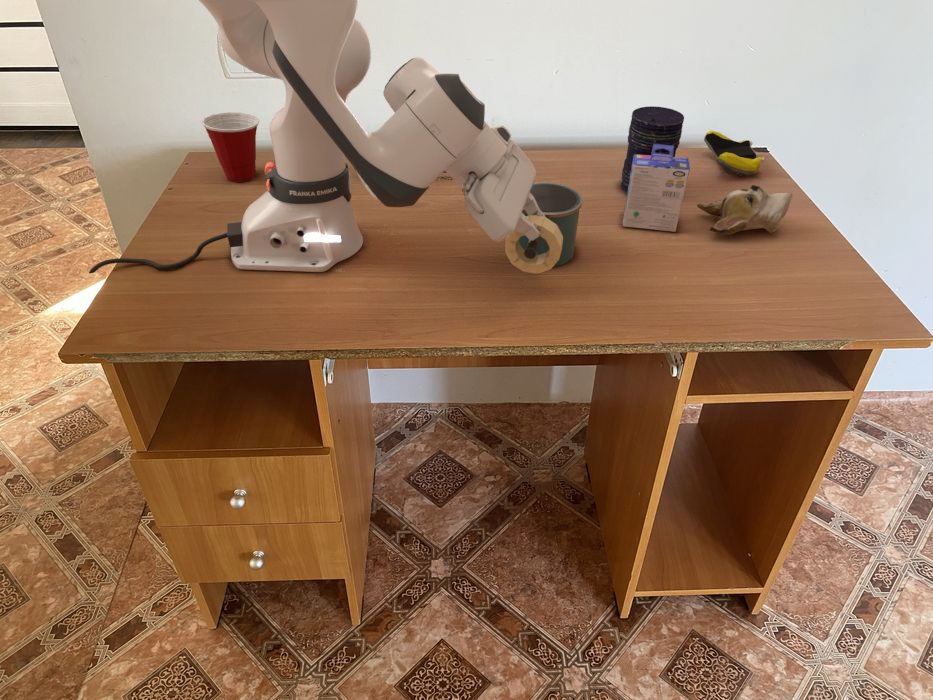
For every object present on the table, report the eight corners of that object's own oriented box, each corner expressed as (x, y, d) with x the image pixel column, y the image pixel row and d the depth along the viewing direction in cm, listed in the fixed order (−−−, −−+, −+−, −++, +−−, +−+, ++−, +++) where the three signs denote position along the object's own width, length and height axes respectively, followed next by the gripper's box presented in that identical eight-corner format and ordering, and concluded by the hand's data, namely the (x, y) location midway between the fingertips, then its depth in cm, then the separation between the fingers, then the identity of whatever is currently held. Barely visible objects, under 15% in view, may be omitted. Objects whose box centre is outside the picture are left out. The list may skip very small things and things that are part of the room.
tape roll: (504, 269, 107) (506, 221, 102) (507, 259, 109) (510, 212, 104) (557, 276, 106) (562, 228, 100) (560, 266, 108) (565, 218, 103)
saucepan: (515, 230, 125) (518, 178, 118) (579, 238, 123) (586, 186, 116) (490, 296, 108) (492, 240, 102) (563, 306, 106) (570, 250, 100)
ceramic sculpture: (805, 198, 116) (715, 200, 117) (793, 243, 121) (706, 245, 122) (785, 171, 124) (701, 174, 125) (774, 215, 130) (693, 217, 131)
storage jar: (629, 174, 144) (642, 102, 134) (675, 185, 140) (691, 112, 130) (612, 192, 137) (623, 118, 127) (660, 204, 133) (675, 129, 124)
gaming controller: (715, 181, 141) (764, 182, 141) (722, 156, 138) (772, 156, 138) (698, 152, 153) (742, 152, 153) (703, 128, 149) (749, 128, 149)
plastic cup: (278, 177, 141) (268, 120, 133) (229, 192, 135) (215, 133, 128) (254, 161, 147) (243, 105, 140) (206, 174, 142) (192, 117, 134)
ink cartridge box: (676, 219, 128) (692, 144, 119) (677, 233, 124) (694, 157, 115) (622, 213, 130) (635, 139, 121) (622, 227, 126) (635, 152, 117)
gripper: (475, 177, 89) (544, 252, 93) (507, 121, 105) (564, 188, 109) (443, 204, 93) (510, 275, 97) (478, 146, 108) (534, 210, 112)
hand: (539, 229), depth 103 cm, fingers closed on tape roll, 3 cm apart
